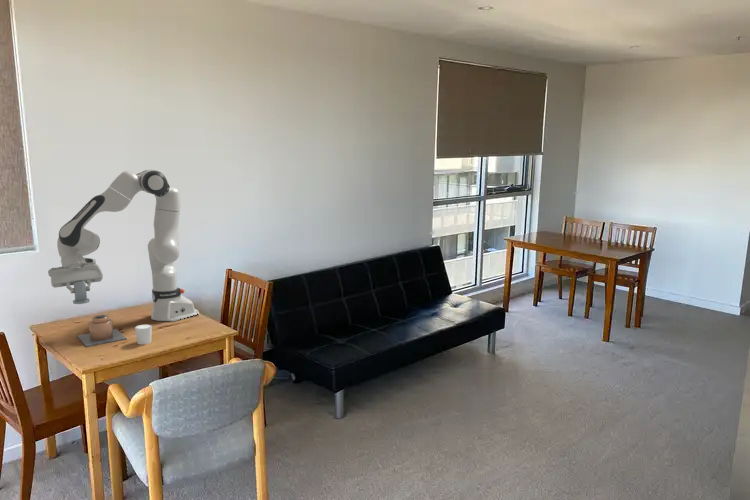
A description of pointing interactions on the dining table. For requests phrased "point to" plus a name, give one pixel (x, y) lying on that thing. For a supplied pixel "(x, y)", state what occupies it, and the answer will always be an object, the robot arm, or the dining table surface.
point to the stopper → (80, 292)
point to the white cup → (143, 334)
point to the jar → (100, 332)
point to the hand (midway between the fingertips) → (80, 291)
